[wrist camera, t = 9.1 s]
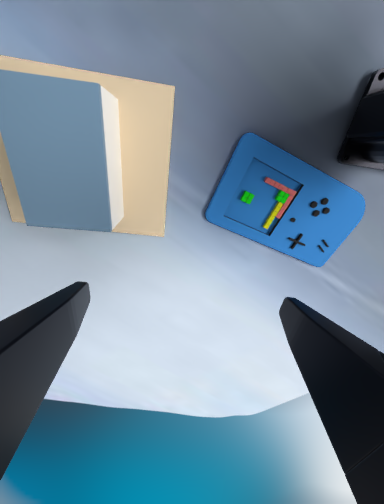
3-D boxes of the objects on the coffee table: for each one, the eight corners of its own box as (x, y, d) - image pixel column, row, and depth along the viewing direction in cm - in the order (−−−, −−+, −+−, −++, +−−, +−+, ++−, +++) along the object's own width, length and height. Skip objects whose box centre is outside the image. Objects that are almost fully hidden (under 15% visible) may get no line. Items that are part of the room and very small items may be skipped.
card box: (123, 216, 19) (110, 232, 15) (56, 210, 18) (26, 225, 15) (118, 99, 15) (97, 83, 11) (31, 87, 14) (-19, 66, 11)
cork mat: (174, 88, 15) (174, 86, 15) (164, 234, 20) (163, 236, 20) (-29, 52, 14) (-38, 48, 13) (17, 219, 19) (12, 221, 19)
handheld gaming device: (322, 270, 23) (203, 220, 19) (316, 265, 24) (202, 217, 20) (379, 202, 19) (247, 128, 16) (369, 200, 20) (243, 130, 17)
